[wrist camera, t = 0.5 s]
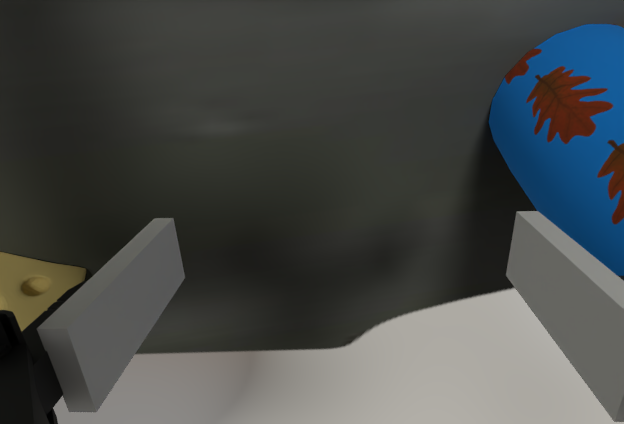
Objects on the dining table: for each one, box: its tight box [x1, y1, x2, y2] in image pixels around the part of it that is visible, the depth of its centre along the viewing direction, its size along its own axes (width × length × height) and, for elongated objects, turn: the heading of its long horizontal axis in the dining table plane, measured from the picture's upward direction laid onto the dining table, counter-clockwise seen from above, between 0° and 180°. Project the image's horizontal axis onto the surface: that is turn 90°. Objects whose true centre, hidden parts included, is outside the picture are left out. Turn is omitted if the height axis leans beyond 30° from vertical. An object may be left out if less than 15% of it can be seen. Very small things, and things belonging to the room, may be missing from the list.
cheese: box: [0, 252, 86, 331], centre depth 37 cm, size 10×11×10 cm
